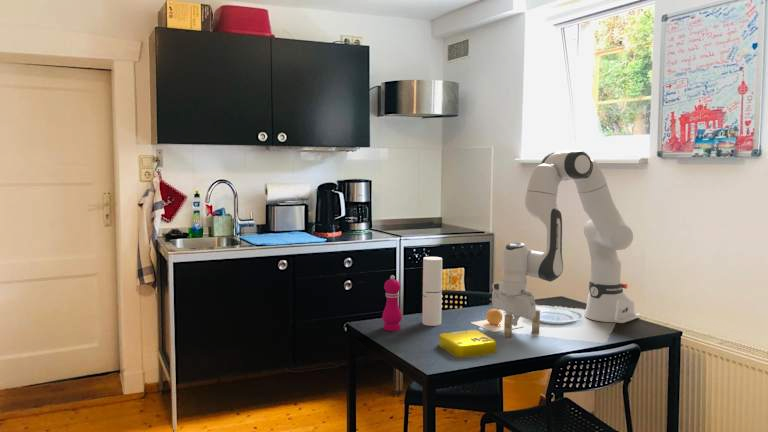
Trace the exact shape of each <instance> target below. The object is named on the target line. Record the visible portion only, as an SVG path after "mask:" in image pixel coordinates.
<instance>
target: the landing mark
mask: <svg viewBox="0 0 768 432" xmlns="http://www.w3.org/2000/svg"><path fill="white" fill-rule="evenodd" d="M502 320H503V318H502ZM504 321H505V319H504V320H503V321H501V322H500V323H499V324H497V325H492V324H490V323H489V322H488V321H487V319H484V320H478V321H471V322H470V324H472V325H474V326H476V327H480V328H482V329H484V328H485V329H484V330H487V331H489V330H490V331H489V332H492V333H499V332H504ZM502 324H503V325H502ZM498 325H499V326H498ZM501 325H502V326H501ZM520 327H522V328H524V326H522V325H520V324H518V323H517V326H513V325H512V330H515V328H516V329H521V328H520ZM498 331H499V332H498Z"/></svg>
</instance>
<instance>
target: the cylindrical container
mask: <svg viewBox="0 0 768 432" xmlns="http://www.w3.org/2000/svg"><path fill="white" fill-rule="evenodd" d="M422 261H423V262H422V268H423V269H422V320H421V321H422V322H421V323H422V325H425V326H430V327H431V326H433V327H435V326H436V327H437V326H440V325H441V324H442V307H443V306H442V303H443V301H442V300H443V299H442V298H443V297H442V295H443V291H442V290H443V288H442V287H443V258H442V257H439V256H424V257H423V260H422Z"/></svg>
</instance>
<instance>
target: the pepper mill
mask: <svg viewBox="0 0 768 432" xmlns="http://www.w3.org/2000/svg"><path fill="white" fill-rule="evenodd" d="M395 278H396V277H395V275H393V274H392V275H390V277H389V279H387V280H386V281H385V283H384V284H383V285H384V286H383V288H384V290H385V297H386V303H385V307H384V309H383V312H382V316H381V318H382V321H383V322H384V323H383V329H384V330H385V331H388V332H389V331H390V332H396V331H399V330H401V323H400V322H401V321H402V318H403V315H402V312H401V309H400V306H399V301H398V300H399V297H400V293H399V292H400V290H401V287H402V286H401V283H400V281H399V280H397V279H395Z"/></svg>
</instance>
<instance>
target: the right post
mask: <svg viewBox="0 0 768 432" xmlns="http://www.w3.org/2000/svg"><path fill="white" fill-rule="evenodd" d="M531 320H532V321H531V333H532V332H533V334H539V333H540V322H541V310H540V309H536V316H535V317H534V318H531Z"/></svg>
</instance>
